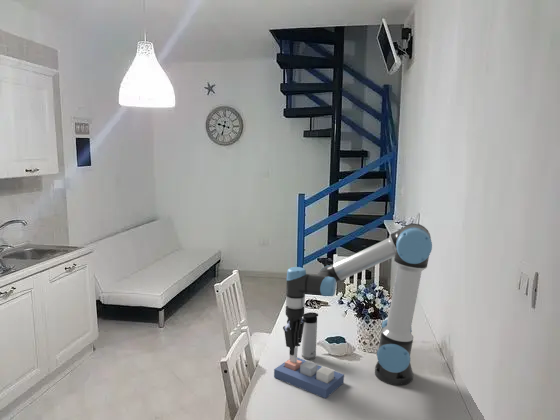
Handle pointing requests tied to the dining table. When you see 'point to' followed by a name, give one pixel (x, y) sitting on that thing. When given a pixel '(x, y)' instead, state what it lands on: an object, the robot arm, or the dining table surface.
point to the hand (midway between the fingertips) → (293, 361)
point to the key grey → (308, 368)
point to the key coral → (293, 365)
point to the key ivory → (325, 374)
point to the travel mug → (309, 336)
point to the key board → (308, 380)
